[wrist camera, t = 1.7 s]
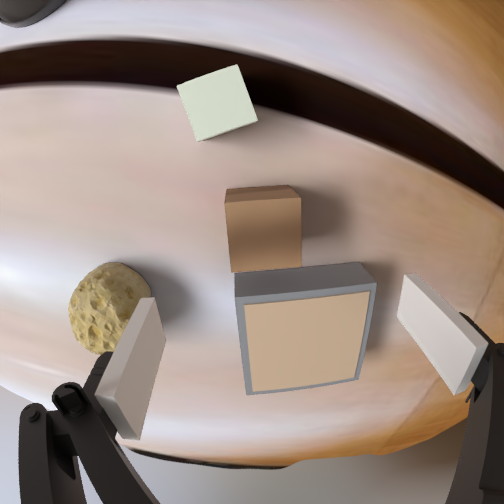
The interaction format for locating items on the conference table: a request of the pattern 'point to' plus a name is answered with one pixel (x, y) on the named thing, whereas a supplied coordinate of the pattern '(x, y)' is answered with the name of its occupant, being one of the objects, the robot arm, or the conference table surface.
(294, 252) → the walnut cube
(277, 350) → the plinth
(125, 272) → the decorative item
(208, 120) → the sage cube
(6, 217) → the conference table surface
